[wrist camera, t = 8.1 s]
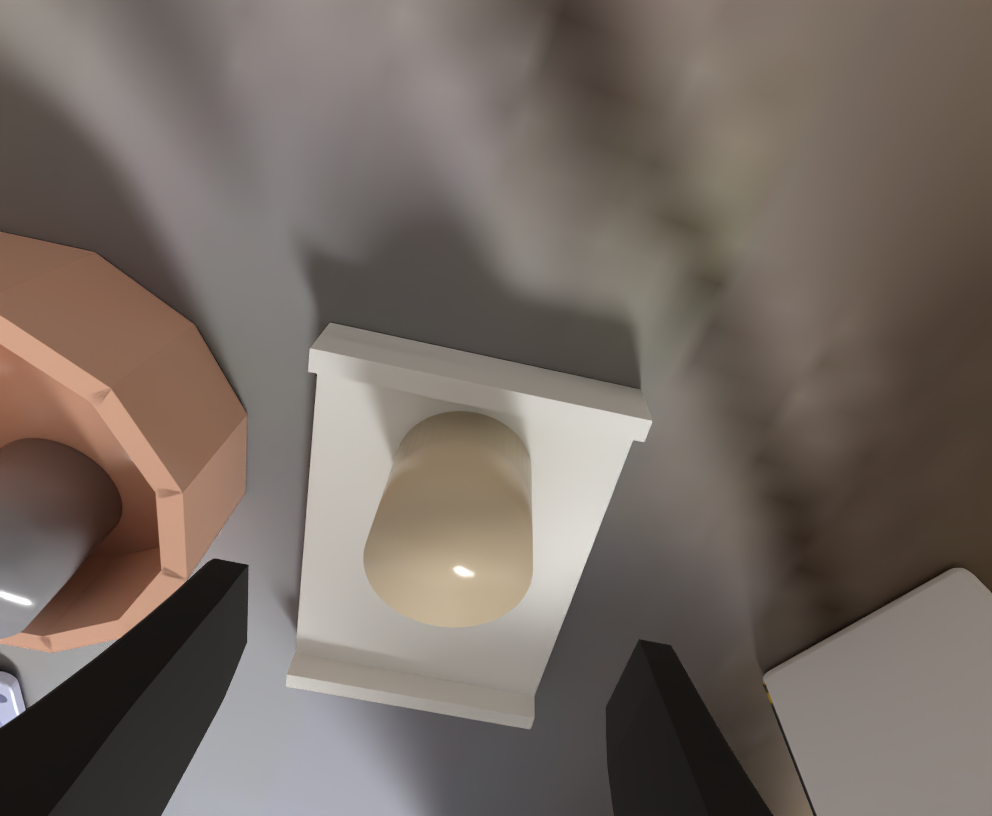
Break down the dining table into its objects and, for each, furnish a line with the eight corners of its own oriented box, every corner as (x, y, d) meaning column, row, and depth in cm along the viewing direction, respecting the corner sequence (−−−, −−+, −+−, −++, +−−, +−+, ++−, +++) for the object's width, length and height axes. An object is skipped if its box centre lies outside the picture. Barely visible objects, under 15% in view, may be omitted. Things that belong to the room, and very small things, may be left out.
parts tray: (529, 686, 21) (530, 729, 20) (302, 645, 21) (285, 686, 19) (641, 389, 16) (652, 420, 14) (330, 322, 15) (309, 348, 14)
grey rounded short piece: (128, 549, 18) (45, 650, 15) (5, 528, 18) (-106, 625, 15) (115, 451, 16) (18, 542, 13) (-22, 426, 16) (-154, 512, 13)
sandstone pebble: (514, 534, 17) (511, 639, 14) (387, 509, 17) (354, 611, 14) (546, 427, 15) (551, 519, 12) (405, 397, 15) (373, 483, 12)
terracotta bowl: (244, 581, 19) (191, 677, 16) (-80, 521, 19) (-198, 608, 16) (249, 285, 15) (175, 341, 12) (-186, 190, 14) (-386, 223, 11)
